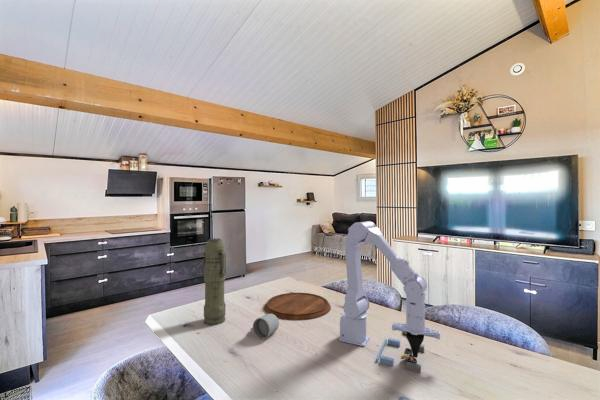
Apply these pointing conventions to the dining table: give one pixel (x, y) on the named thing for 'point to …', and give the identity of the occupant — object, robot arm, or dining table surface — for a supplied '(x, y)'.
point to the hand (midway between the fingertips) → (415, 355)
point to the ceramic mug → (265, 326)
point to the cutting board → (297, 306)
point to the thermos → (214, 282)
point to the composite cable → (408, 356)
